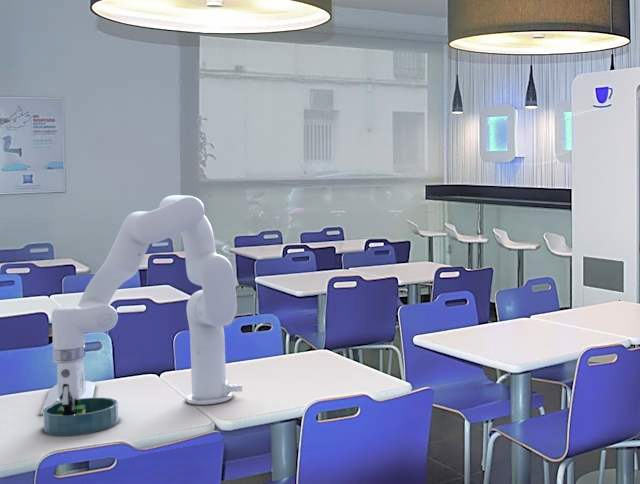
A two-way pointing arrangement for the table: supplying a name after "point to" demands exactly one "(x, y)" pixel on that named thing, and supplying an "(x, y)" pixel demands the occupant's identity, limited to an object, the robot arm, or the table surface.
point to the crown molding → (53, 399)
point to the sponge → (78, 408)
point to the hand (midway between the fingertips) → (71, 423)
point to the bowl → (82, 417)
